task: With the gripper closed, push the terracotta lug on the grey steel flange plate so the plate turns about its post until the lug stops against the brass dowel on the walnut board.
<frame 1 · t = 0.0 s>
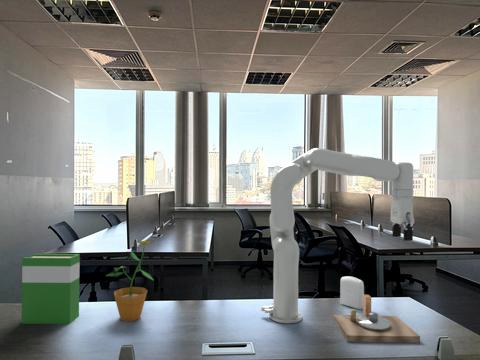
hand: (402, 238, 136), 31 cm above the table, tool pointing down, fingers open, 9 cm apart
walnut board: (373, 330, 125), on the table
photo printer: (351, 306, 150), on the table
hardback book: (51, 320, 132), on the table
flange plate: (372, 311, 126), point 6 cm above the table, hinge at 0.0°
potted plant: (130, 318, 135), on the table
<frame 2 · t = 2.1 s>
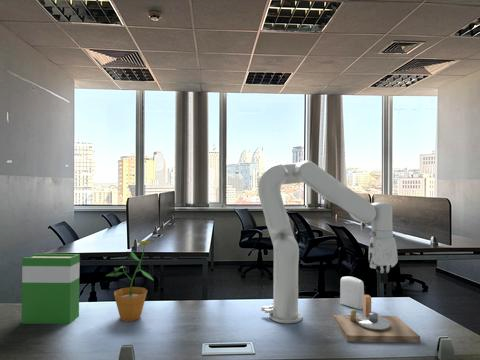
hand: (382, 282, 134), 15 cm above the table, tool pointing down, fingers closed
nothing on the table moved.
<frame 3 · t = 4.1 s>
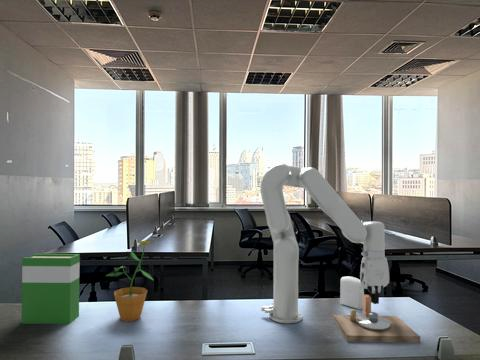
hand: (374, 302, 133), 7 cm above the table, tool pointing down, fingers closed
flange plate: (372, 311, 126), point 6 cm above the table, hinge at 0.9°, touching gripper
everything else where it was.
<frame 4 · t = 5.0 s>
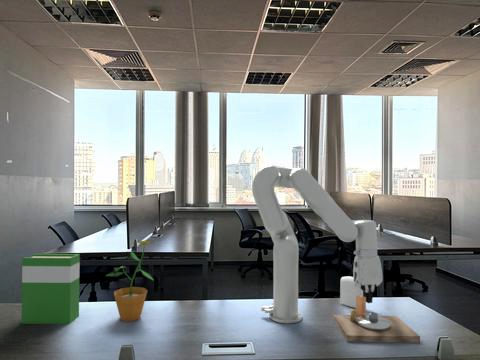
hand: (367, 301, 132), 8 cm above the table, tool pointing down, fingers closed
flange plate: (370, 311, 126), point 6 cm above the table, hinge at 22.8°, touching gripper
everything else where it was.
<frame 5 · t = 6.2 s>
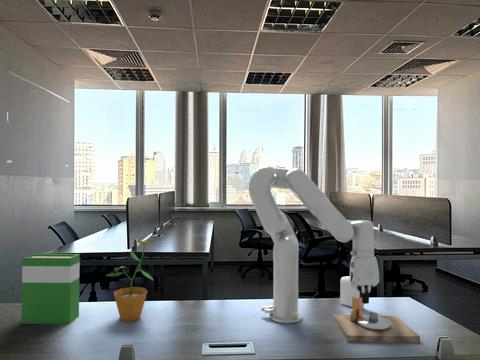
hand: (364, 302, 131), 8 cm above the table, tool pointing down, fingers closed
flange plate: (370, 312, 126), point 6 cm above the table, hinge at 40.0°, touching gripper
everything else where it was.
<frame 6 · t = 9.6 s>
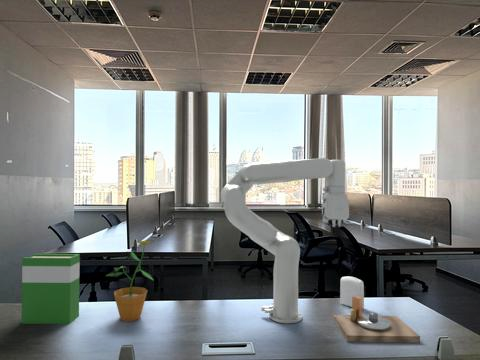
hand: (334, 236, 140), 31 cm above the table, tool pointing down, fingers closed
flange plate: (370, 312, 126), point 6 cm above the table, hinge at 40.0°
everything else where it was.
at the end: flange plate at +40° (first picture: +0°) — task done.
